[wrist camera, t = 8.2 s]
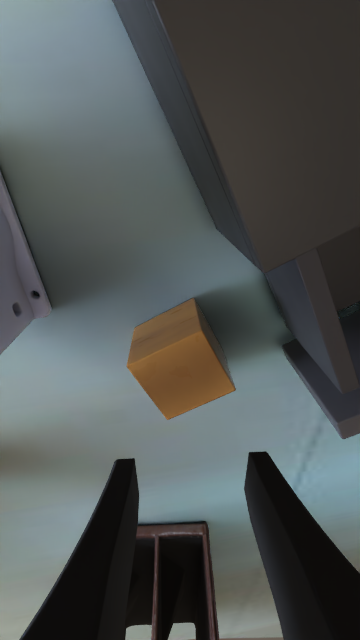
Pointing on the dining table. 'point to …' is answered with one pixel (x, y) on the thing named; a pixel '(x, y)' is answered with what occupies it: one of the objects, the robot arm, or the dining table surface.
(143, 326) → the block
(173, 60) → the black drawer cabinet
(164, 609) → the letter holder
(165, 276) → the dining table surface
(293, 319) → the dark grey drawer
